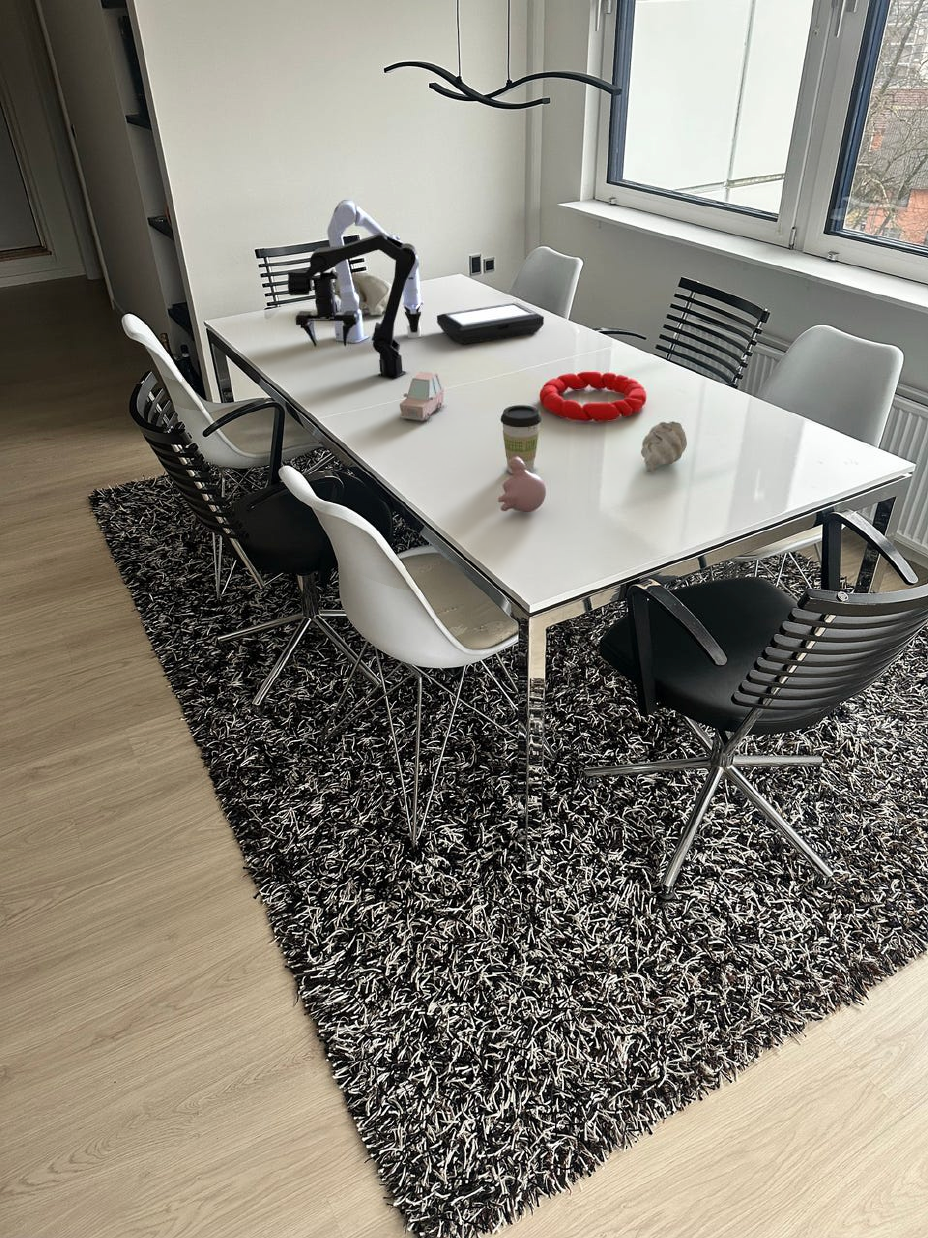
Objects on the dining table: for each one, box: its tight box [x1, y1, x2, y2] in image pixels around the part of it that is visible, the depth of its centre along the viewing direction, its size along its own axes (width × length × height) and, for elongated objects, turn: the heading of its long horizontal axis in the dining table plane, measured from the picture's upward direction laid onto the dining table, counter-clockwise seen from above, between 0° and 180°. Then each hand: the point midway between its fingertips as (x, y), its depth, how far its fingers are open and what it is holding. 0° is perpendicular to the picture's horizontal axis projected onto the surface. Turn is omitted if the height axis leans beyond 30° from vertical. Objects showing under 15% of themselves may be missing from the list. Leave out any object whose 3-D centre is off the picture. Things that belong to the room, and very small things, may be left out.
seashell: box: [640, 421, 688, 473], centre depth 218 cm, size 10×15×10 cm
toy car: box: [399, 371, 445, 422], centre depth 250 cm, size 9×15×10 cm, turn 158°
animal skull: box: [333, 271, 392, 316], centre depth 336 cm, size 17×25×20 cm
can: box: [406, 322, 422, 339], centre depth 312 cm, size 5×5×4 cm
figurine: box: [497, 457, 547, 513], centre depth 199 cm, size 9×11×12 cm
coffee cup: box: [499, 404, 543, 474], centre depth 216 cm, size 10×10×15 cm
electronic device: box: [436, 302, 545, 345], centre depth 312 cm, size 32×6×20 cm
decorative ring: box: [539, 371, 647, 422], centre depth 253 cm, size 7×30×30 cm
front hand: (330, 346), depth 275 cm, fingers open, 9 cm apart
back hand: (413, 329), depth 312 cm, fingers open, 6 cm apart
